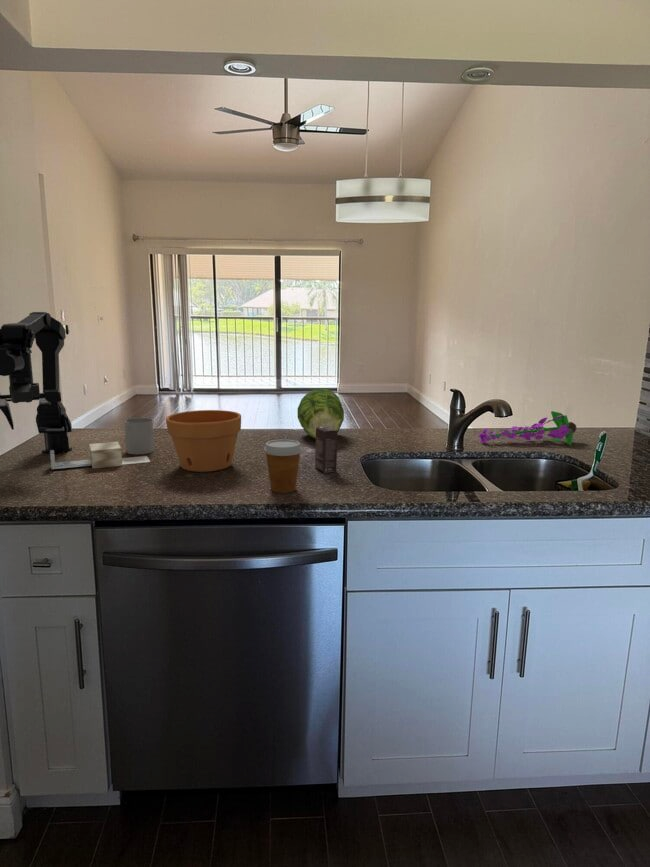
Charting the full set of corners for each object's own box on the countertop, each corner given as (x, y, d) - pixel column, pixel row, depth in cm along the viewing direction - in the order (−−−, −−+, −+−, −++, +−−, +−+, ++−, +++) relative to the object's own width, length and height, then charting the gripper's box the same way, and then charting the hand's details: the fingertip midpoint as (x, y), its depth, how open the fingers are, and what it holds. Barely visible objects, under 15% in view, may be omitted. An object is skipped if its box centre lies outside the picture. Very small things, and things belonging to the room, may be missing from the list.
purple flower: (580, 455, 203) (486, 466, 197) (557, 424, 215) (468, 434, 209) (592, 429, 195) (494, 440, 189) (568, 398, 206) (475, 407, 201)
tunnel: (92, 468, 165) (91, 450, 164) (90, 461, 173) (89, 444, 172) (122, 465, 168) (121, 448, 167) (118, 458, 176) (117, 441, 175)
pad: (122, 464, 169) (122, 464, 169) (119, 459, 176) (119, 458, 175) (150, 462, 172) (150, 461, 172) (146, 456, 179) (146, 455, 179)
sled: (51, 469, 162) (50, 454, 161) (51, 465, 167) (50, 450, 166) (117, 462, 170) (116, 448, 169) (115, 459, 174) (114, 444, 173)
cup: (145, 455, 181) (144, 423, 178) (121, 453, 182) (119, 422, 180) (158, 448, 189) (157, 418, 186) (135, 447, 190) (133, 417, 188)
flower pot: (153, 471, 164) (150, 419, 160) (194, 453, 183) (192, 407, 180) (219, 479, 157) (217, 425, 153) (254, 460, 176) (253, 412, 173)
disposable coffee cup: (271, 496, 143) (271, 449, 140) (259, 485, 151) (259, 440, 149) (307, 492, 146) (307, 445, 144) (294, 481, 155) (294, 437, 152)
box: (337, 471, 165) (338, 429, 163) (323, 473, 163) (323, 431, 161) (328, 466, 170) (328, 425, 168) (314, 467, 168) (314, 427, 166)
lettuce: (321, 462, 198) (289, 429, 192) (316, 436, 219) (287, 405, 213) (359, 432, 195) (328, 398, 189) (350, 408, 216) (322, 376, 210)
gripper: (-23, 376, 145) (-16, 437, 149) (59, 373, 153) (64, 431, 157) (-19, 371, 155) (-12, 429, 159) (58, 369, 163) (63, 423, 166)
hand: (26, 428), depth 160 cm, fingers open, 6 cm apart
